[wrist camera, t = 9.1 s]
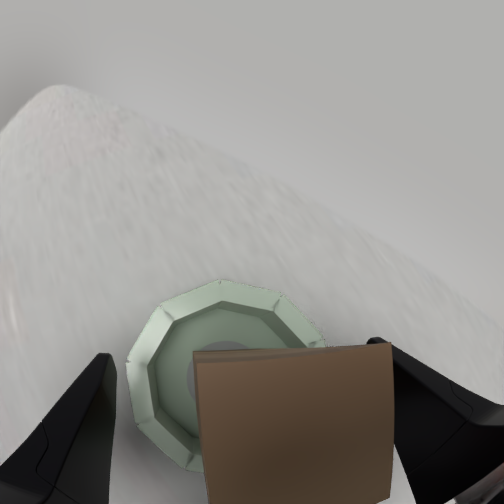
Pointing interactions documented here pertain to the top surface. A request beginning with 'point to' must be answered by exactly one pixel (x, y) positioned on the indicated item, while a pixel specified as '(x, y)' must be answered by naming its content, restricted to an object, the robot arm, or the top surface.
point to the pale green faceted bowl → (202, 339)
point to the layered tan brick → (296, 424)
